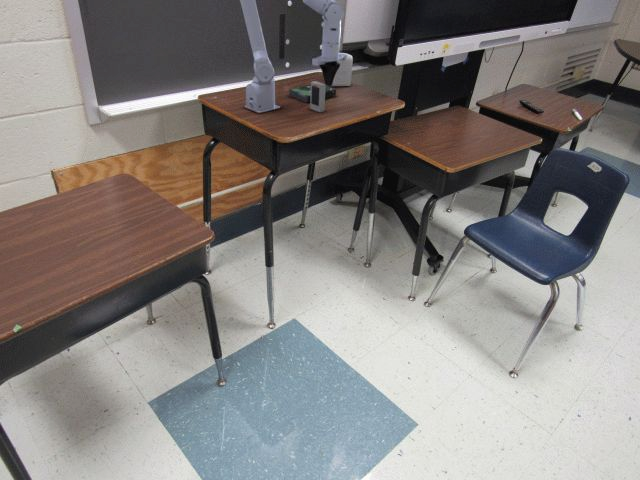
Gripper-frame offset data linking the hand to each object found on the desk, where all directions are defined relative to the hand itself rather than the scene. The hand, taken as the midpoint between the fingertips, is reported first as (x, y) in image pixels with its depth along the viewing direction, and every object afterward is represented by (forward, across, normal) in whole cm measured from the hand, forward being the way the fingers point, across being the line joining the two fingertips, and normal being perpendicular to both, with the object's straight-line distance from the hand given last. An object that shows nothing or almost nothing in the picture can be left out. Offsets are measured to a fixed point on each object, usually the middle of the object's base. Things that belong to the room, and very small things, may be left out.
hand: (328, 85), depth 154 cm
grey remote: (+8, -5, 0) cm, 9 cm away
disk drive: (+8, +5, +12) cm, 16 cm away
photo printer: (+8, +24, +17) cm, 31 cm away
